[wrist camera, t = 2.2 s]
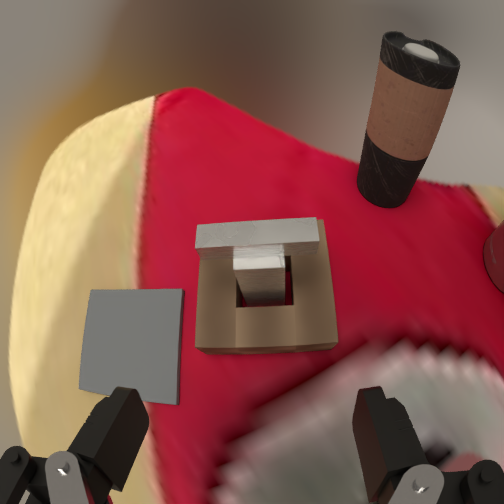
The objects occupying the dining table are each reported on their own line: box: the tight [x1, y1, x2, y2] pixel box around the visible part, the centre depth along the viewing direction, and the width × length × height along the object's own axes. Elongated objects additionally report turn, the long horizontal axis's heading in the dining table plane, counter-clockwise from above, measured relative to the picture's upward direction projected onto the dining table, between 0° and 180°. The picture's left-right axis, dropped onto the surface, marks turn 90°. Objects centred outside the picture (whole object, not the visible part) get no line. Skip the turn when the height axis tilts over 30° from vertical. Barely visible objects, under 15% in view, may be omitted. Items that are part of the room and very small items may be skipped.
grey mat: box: [79, 289, 185, 405], centre depth 28 cm, size 12×12×1 cm
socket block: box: [195, 220, 338, 354], centre depth 28 cm, size 12×12×4 cm
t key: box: [195, 217, 319, 307], centre depth 24 cm, size 8×4×12 cm, turn 91°
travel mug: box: [357, 31, 460, 208], centre depth 26 cm, size 8×8×20 cm
